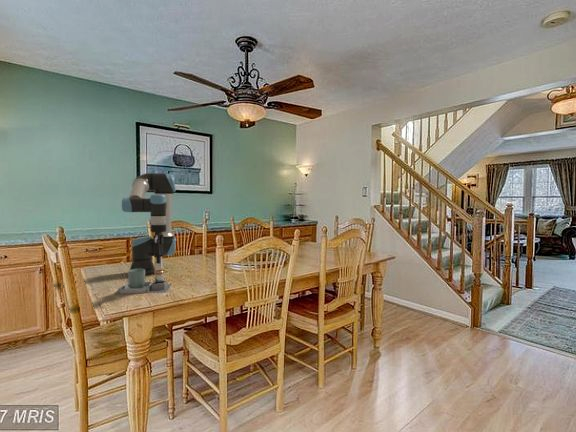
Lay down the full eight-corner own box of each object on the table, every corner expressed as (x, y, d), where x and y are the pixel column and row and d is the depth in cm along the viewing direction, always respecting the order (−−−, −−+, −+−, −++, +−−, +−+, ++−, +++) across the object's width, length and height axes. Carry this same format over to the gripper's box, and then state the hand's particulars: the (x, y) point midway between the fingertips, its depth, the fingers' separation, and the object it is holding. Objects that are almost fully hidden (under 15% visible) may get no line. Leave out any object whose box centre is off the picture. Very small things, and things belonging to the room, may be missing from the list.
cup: (148, 288, 166) (148, 269, 166) (135, 292, 159) (134, 272, 159) (139, 286, 170) (138, 267, 169) (125, 289, 163) (125, 270, 163)
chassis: (128, 288, 172) (127, 279, 172) (172, 286, 176) (172, 278, 175) (117, 297, 156) (116, 287, 156) (166, 295, 160) (165, 286, 159)
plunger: (155, 281, 169) (155, 270, 168) (165, 280, 169) (164, 269, 169) (153, 283, 164) (153, 272, 163) (163, 283, 165) (162, 271, 164)
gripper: (163, 225, 159) (163, 271, 160) (168, 223, 172) (169, 266, 173) (147, 225, 158) (148, 272, 159) (154, 223, 171) (154, 266, 172)
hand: (159, 269), depth 166 cm, fingers closed
